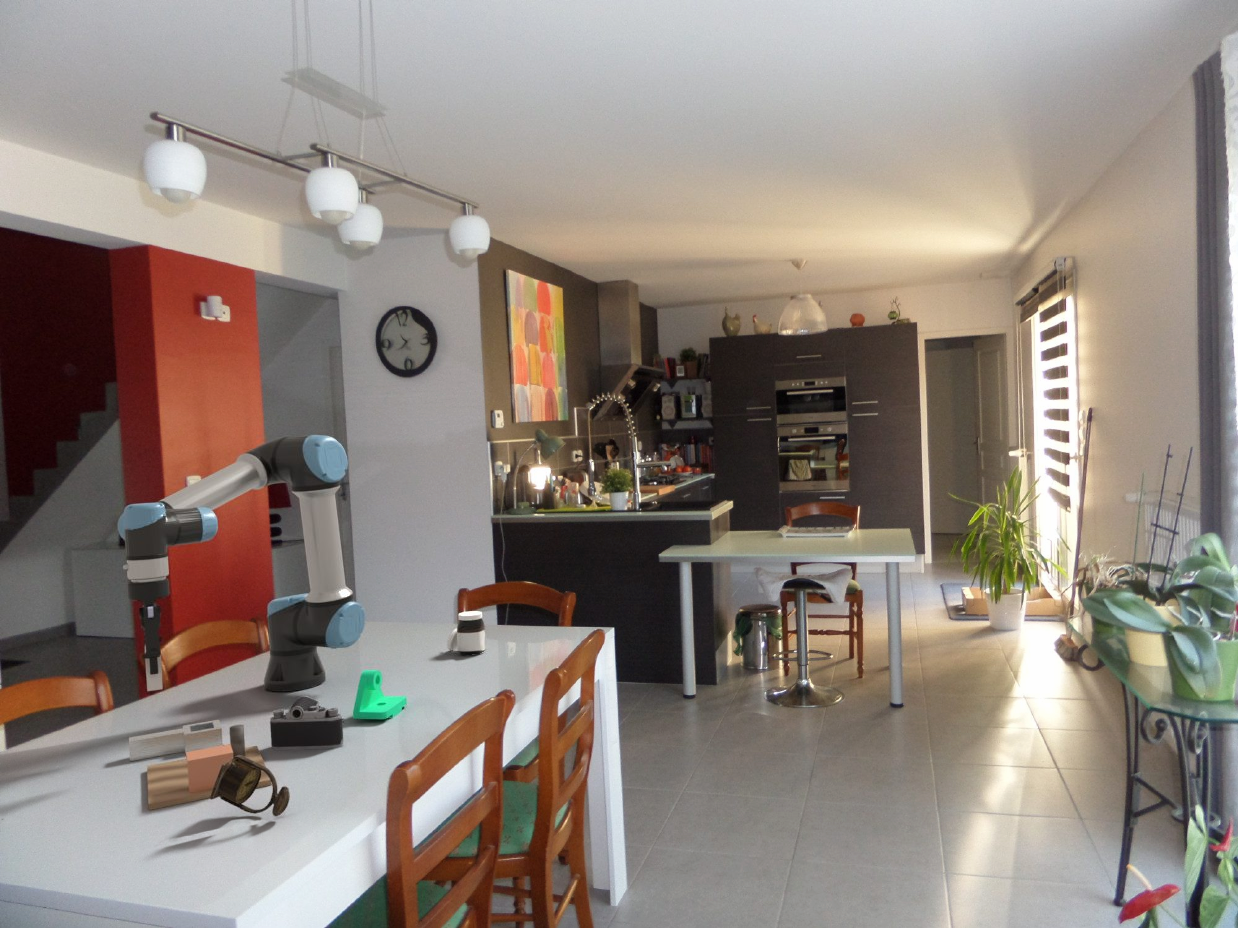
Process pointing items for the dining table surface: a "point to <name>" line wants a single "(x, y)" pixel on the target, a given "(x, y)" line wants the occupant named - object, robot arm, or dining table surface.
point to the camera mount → (375, 698)
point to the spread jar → (468, 634)
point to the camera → (306, 726)
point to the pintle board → (172, 777)
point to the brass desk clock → (247, 785)
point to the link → (176, 740)
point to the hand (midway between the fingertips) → (154, 682)
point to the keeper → (206, 766)
